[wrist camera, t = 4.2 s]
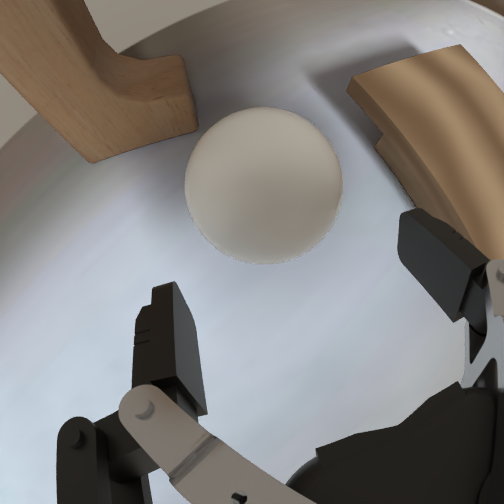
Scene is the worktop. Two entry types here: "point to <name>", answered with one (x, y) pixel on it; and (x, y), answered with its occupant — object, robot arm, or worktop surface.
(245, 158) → the lightbulb
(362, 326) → the worktop surface
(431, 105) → the stand
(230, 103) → the worktop surface
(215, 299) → the worktop surface
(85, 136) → the wooden block
